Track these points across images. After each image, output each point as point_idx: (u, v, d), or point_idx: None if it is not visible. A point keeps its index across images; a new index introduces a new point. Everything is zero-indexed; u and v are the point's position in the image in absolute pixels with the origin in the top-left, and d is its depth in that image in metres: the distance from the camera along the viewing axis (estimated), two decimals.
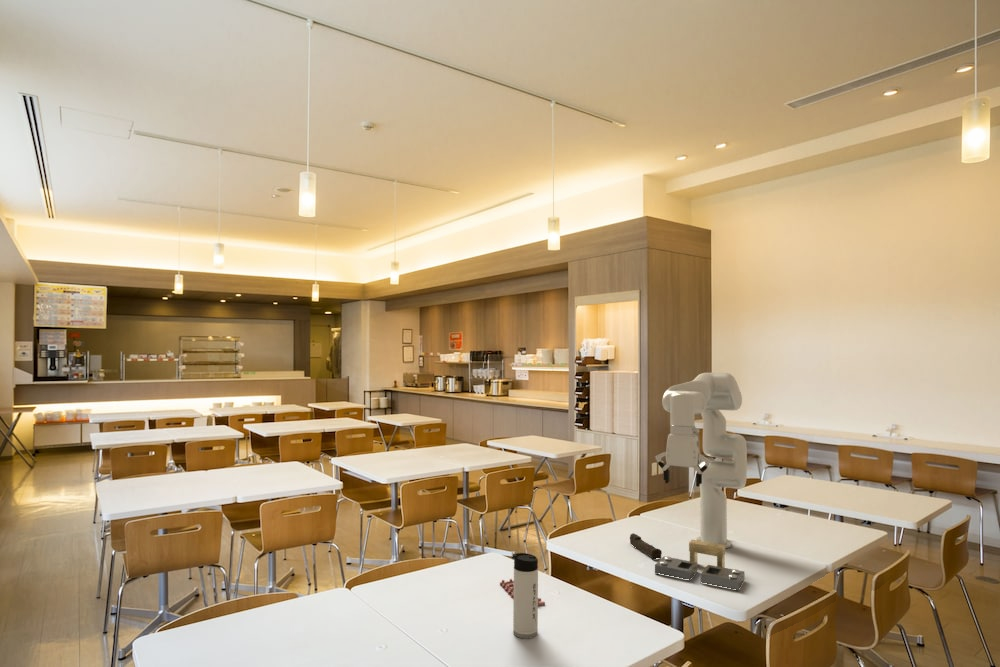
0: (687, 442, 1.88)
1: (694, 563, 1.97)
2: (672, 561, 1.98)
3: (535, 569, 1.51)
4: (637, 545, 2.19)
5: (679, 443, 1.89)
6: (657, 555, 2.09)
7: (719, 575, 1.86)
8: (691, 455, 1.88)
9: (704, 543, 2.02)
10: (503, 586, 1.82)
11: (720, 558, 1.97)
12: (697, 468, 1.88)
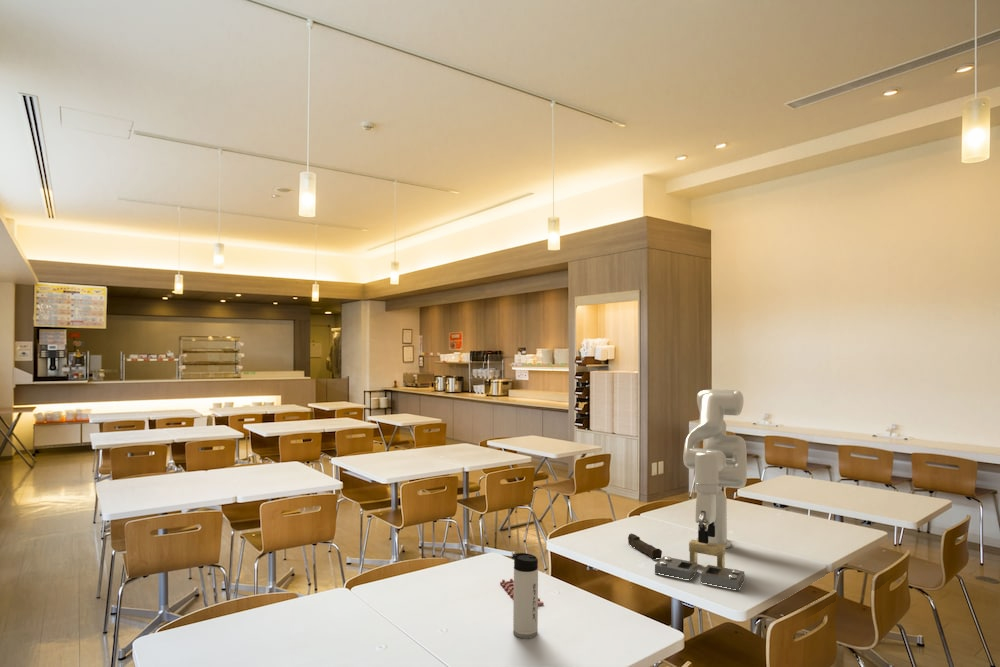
0: (715, 498, 2.02)
1: (694, 563, 1.97)
2: (672, 561, 1.98)
3: (535, 569, 1.51)
4: (636, 545, 2.19)
5: (714, 500, 2.00)
6: (658, 554, 2.09)
7: (719, 575, 1.86)
8: (715, 509, 2.03)
9: (704, 543, 2.02)
10: (503, 586, 1.82)
11: (720, 558, 1.97)
12: (714, 520, 2.05)
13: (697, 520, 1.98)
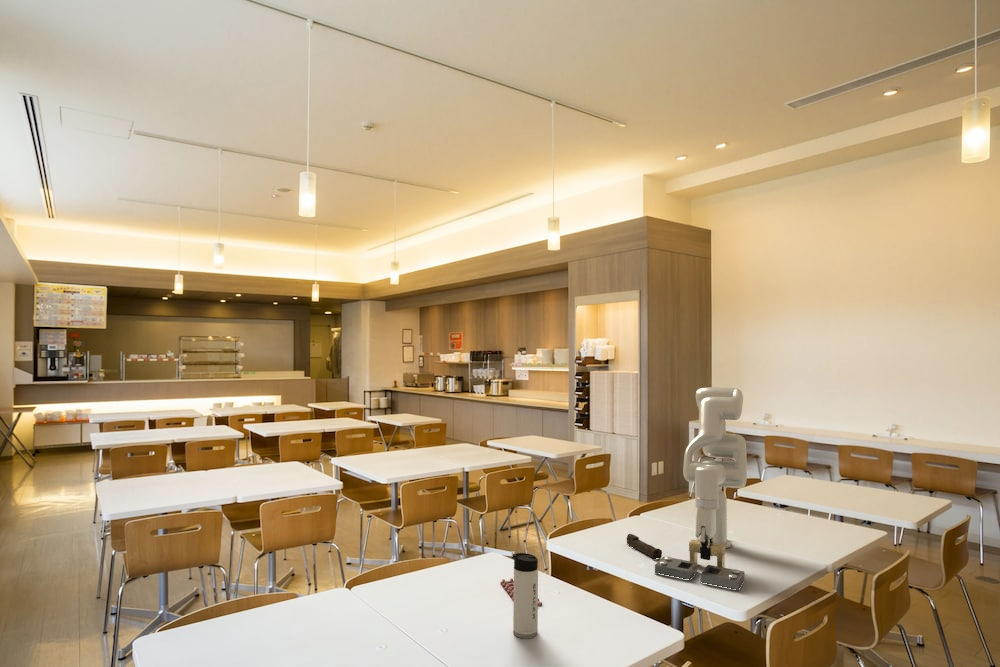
0: (715, 512, 2.02)
1: (694, 563, 1.97)
2: (672, 561, 1.98)
3: (535, 569, 1.51)
4: (635, 545, 2.19)
5: (714, 515, 2.00)
6: (658, 555, 2.09)
7: (719, 575, 1.86)
8: (715, 523, 2.03)
9: None
10: (503, 585, 1.83)
11: (720, 558, 1.97)
12: (713, 538, 2.03)
13: (697, 535, 1.99)
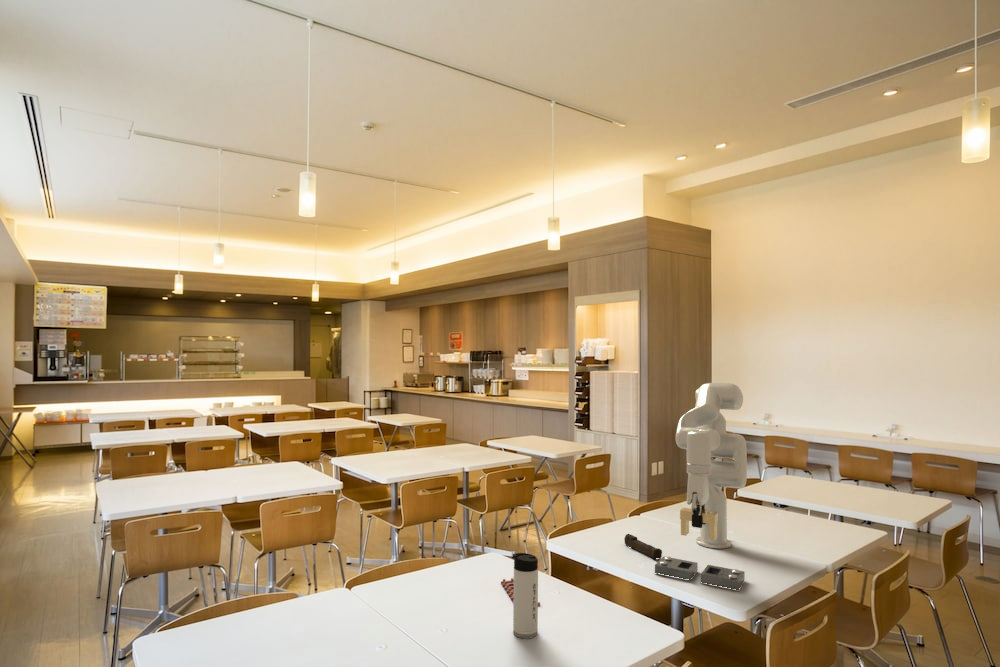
0: (707, 478, 1.94)
1: (694, 563, 1.97)
2: (672, 561, 1.98)
3: (535, 569, 1.51)
4: (634, 545, 2.19)
5: (706, 481, 1.92)
6: (658, 554, 2.09)
7: (719, 575, 1.86)
8: (707, 490, 1.95)
9: None
10: (503, 585, 1.83)
11: (712, 525, 1.88)
12: (705, 505, 1.95)
13: (688, 502, 1.90)
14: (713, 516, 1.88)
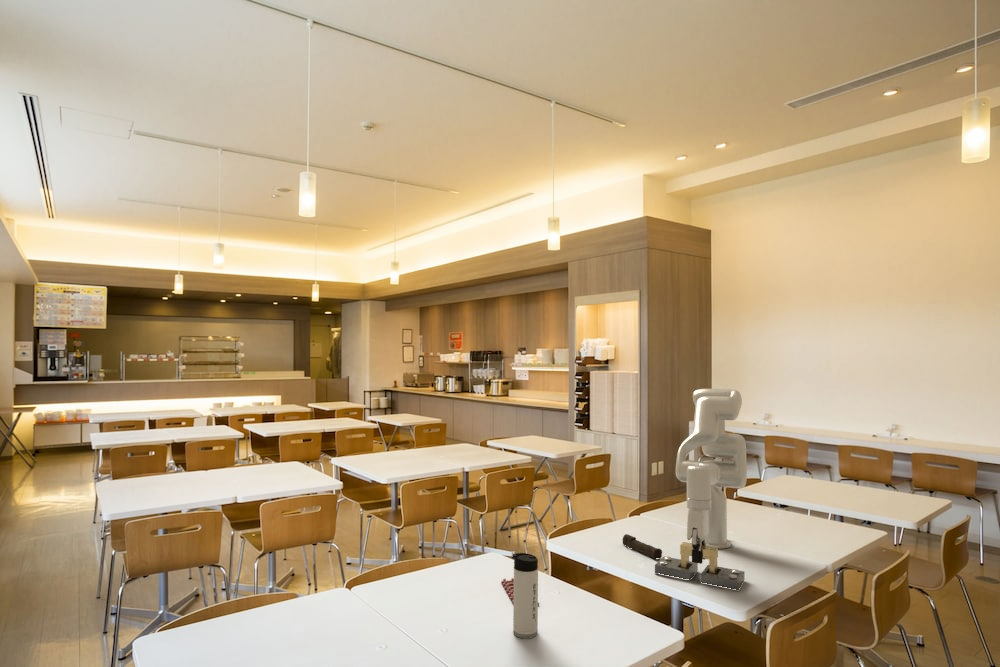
0: (707, 513, 1.93)
1: (694, 563, 1.97)
2: (672, 561, 1.98)
3: (535, 569, 1.51)
4: (633, 546, 2.18)
5: (706, 516, 1.91)
6: (659, 554, 2.09)
7: (719, 575, 1.86)
8: (707, 524, 1.94)
9: None
10: (503, 585, 1.83)
11: (712, 561, 1.88)
12: (705, 540, 1.94)
13: (689, 537, 1.89)
14: (713, 552, 1.88)
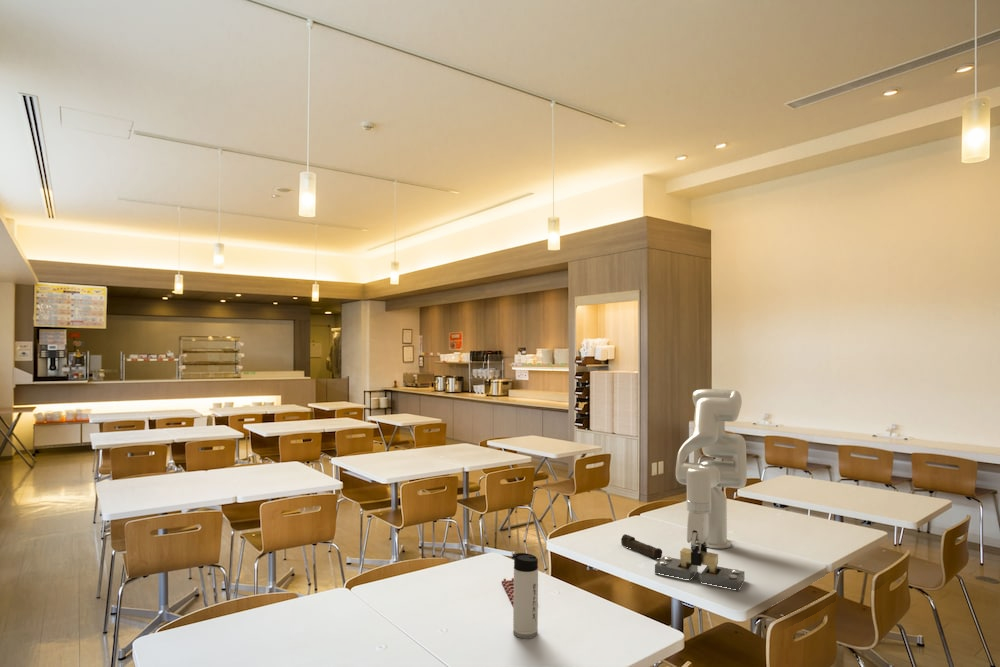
0: (707, 516, 1.93)
1: None
2: (672, 561, 1.98)
3: (535, 569, 1.51)
4: (633, 546, 2.18)
5: (706, 519, 1.91)
6: (659, 554, 2.09)
7: (719, 575, 1.86)
8: (707, 527, 1.94)
9: None
10: (503, 585, 1.83)
11: (712, 568, 1.88)
12: (706, 541, 1.95)
13: (689, 540, 1.89)
14: (713, 558, 1.88)
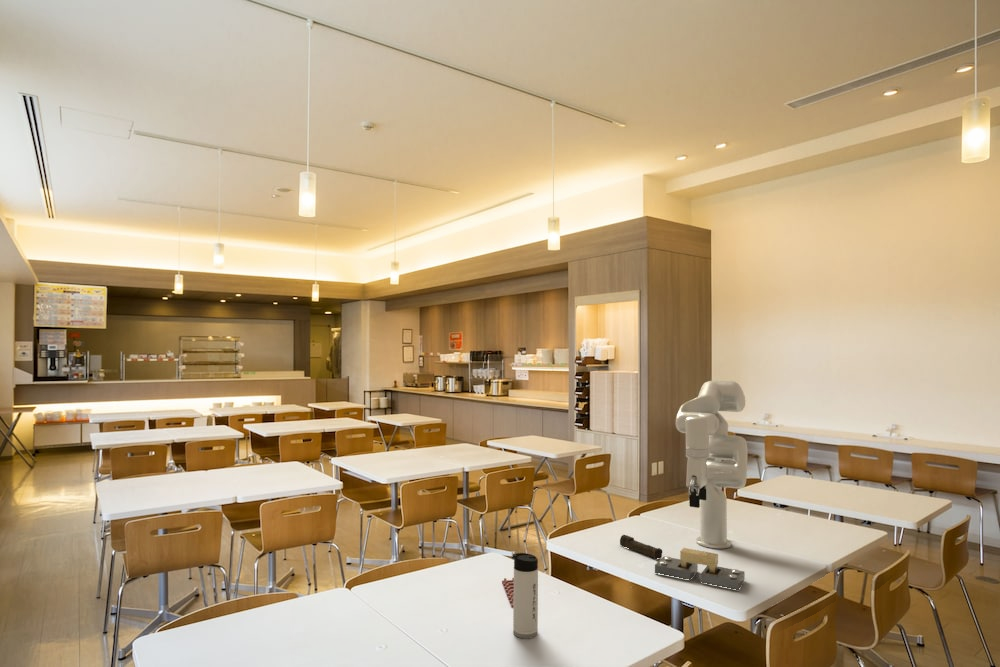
0: (706, 462, 2.00)
1: (694, 563, 1.97)
2: (672, 561, 1.98)
3: (535, 569, 1.51)
4: (632, 546, 2.18)
5: (704, 464, 1.98)
6: (659, 554, 2.09)
7: (719, 575, 1.86)
8: (706, 472, 2.01)
9: (696, 552, 1.93)
10: (504, 584, 1.84)
11: (713, 568, 1.88)
12: (705, 483, 2.03)
13: (688, 485, 1.97)
14: (713, 558, 1.88)
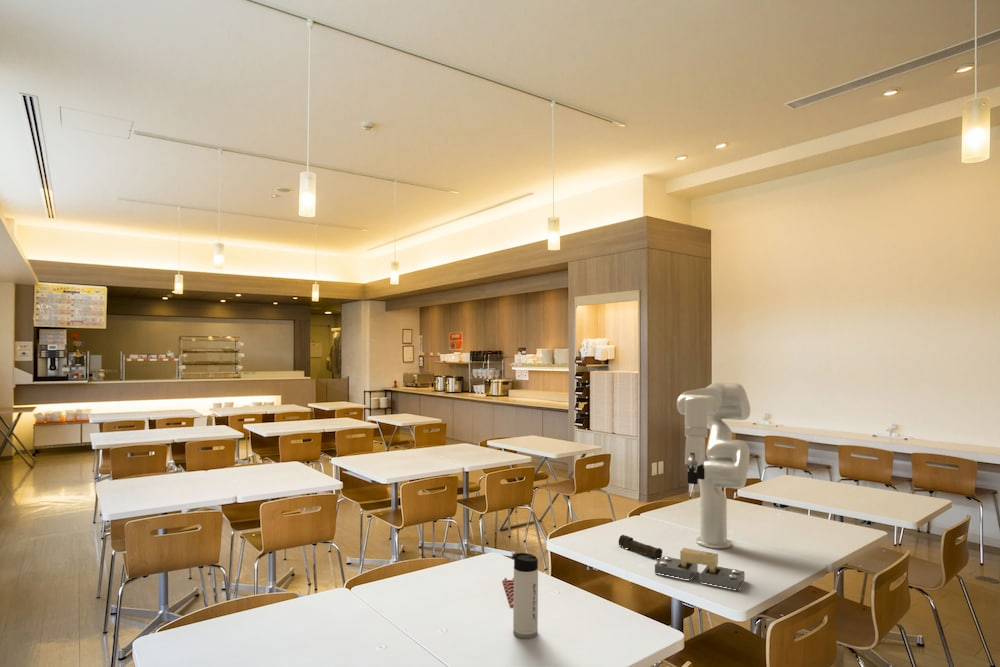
0: (704, 441, 2.07)
1: (694, 563, 1.97)
2: (672, 561, 1.98)
3: (535, 569, 1.51)
4: (631, 546, 2.18)
5: (703, 443, 2.05)
6: (659, 554, 2.09)
7: (719, 575, 1.86)
8: (704, 452, 2.08)
9: (696, 552, 1.93)
10: (504, 584, 1.84)
11: (713, 568, 1.88)
12: (703, 463, 2.10)
13: (687, 462, 2.03)
14: (713, 558, 1.88)
